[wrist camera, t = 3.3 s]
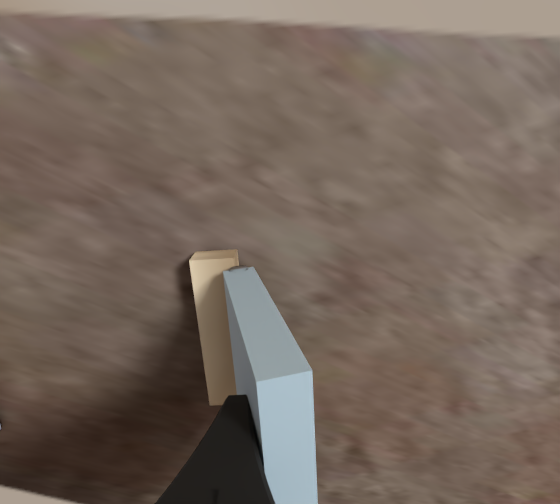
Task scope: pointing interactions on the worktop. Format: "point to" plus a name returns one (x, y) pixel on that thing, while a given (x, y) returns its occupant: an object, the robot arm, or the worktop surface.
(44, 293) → the worktop surface
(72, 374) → the worktop surface
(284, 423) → the panel
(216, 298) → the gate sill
